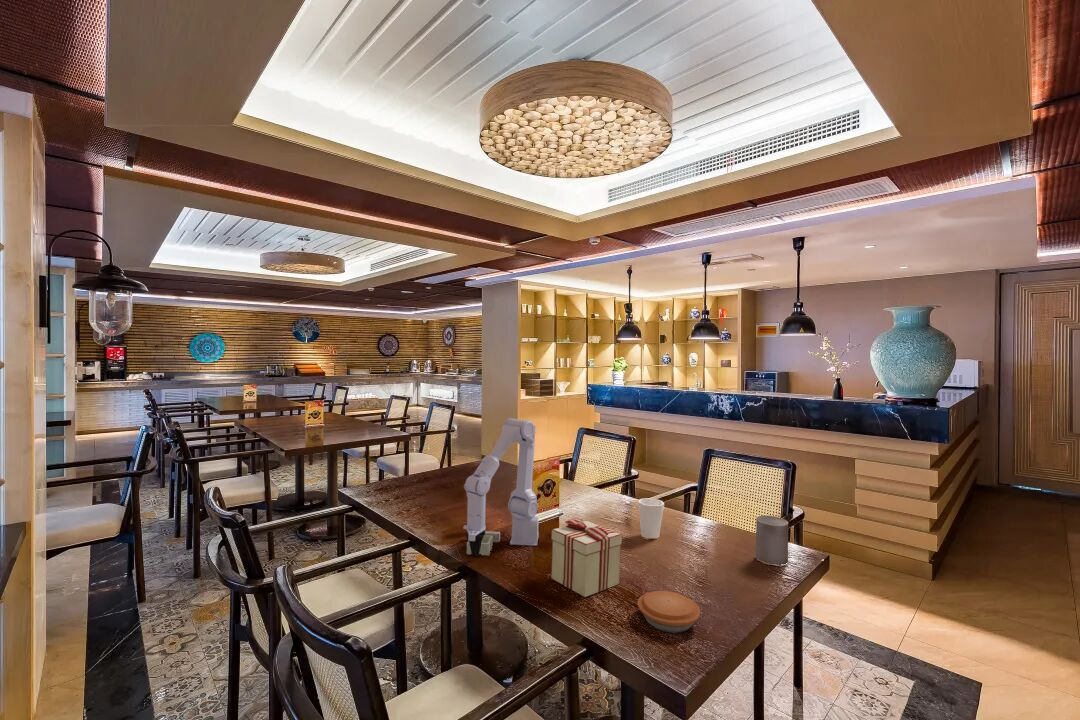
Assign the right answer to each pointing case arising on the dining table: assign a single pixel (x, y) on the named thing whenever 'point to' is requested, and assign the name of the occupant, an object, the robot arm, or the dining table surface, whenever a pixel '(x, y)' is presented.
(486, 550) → the socket block
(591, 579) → the gift box
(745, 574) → the dining table surface
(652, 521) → the foam cup
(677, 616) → the pie
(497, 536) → the rail
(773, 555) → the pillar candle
